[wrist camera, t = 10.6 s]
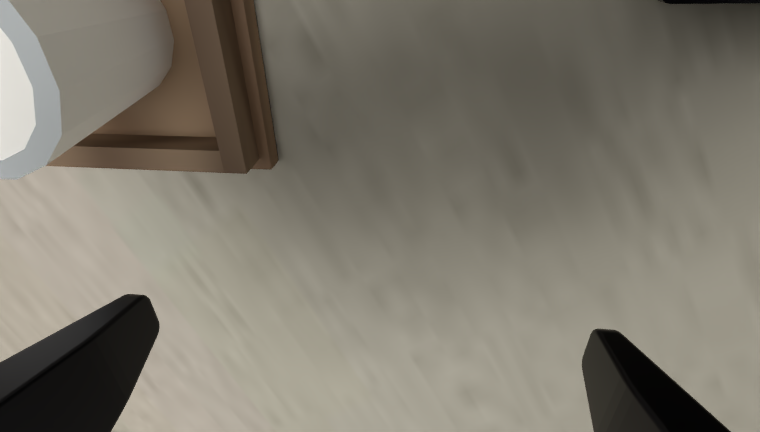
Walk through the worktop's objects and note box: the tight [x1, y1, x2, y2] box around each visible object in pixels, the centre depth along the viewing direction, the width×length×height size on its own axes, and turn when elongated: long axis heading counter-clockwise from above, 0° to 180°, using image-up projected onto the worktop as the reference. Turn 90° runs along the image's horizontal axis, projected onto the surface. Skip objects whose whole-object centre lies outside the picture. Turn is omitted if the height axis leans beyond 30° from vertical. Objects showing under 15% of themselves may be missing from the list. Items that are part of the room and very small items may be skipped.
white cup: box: [0, 0, 174, 179], centre depth 14 cm, size 7×7×7 cm
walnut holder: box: [46, 0, 278, 174], centre depth 17 cm, size 12×12×2 cm
